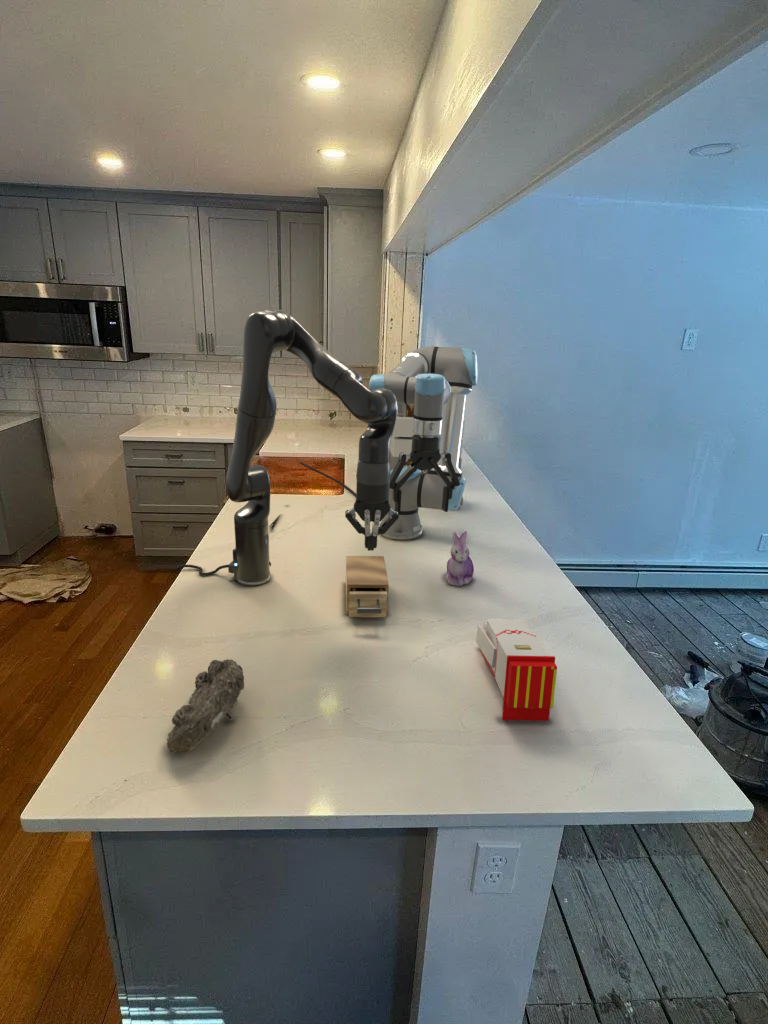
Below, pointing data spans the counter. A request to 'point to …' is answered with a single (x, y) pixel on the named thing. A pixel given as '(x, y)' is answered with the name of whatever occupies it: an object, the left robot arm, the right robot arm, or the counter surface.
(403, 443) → the white crate
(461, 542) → the figurine
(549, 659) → the toy
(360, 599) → the drawer
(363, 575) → the cabinet
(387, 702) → the counter surface
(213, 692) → the fossil
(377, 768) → the counter surface
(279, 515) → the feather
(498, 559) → the counter surface
